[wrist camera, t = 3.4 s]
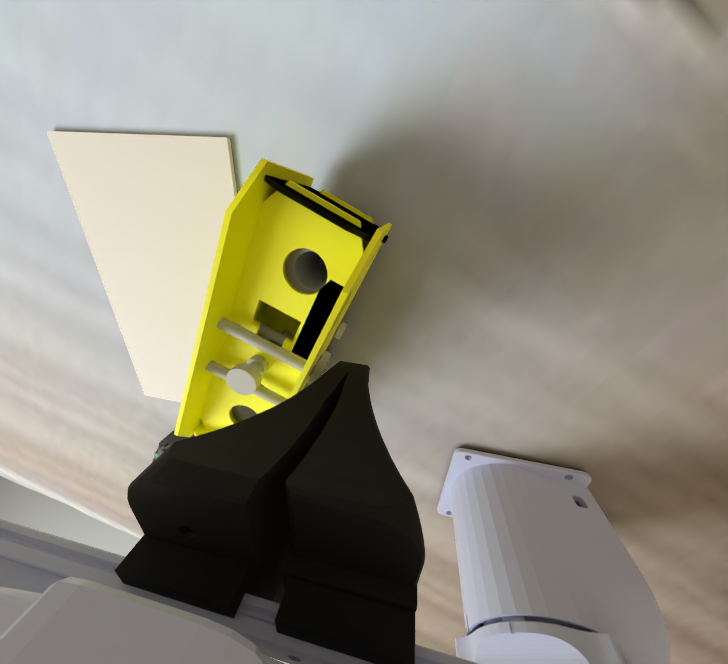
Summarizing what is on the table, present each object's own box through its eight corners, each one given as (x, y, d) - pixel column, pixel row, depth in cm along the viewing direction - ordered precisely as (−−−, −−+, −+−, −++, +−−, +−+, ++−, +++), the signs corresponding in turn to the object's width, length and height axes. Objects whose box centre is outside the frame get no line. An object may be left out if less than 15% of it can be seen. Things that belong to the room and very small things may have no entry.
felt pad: (230, 138, 14) (226, 137, 14) (265, 416, 23) (263, 418, 22) (52, 132, 16) (46, 131, 16) (147, 393, 24) (144, 395, 24)
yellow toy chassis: (300, 411, 21) (242, 518, 14) (237, 379, 21) (143, 472, 13) (400, 228, 14) (393, 245, 7) (310, 175, 14) (198, 132, 7)
